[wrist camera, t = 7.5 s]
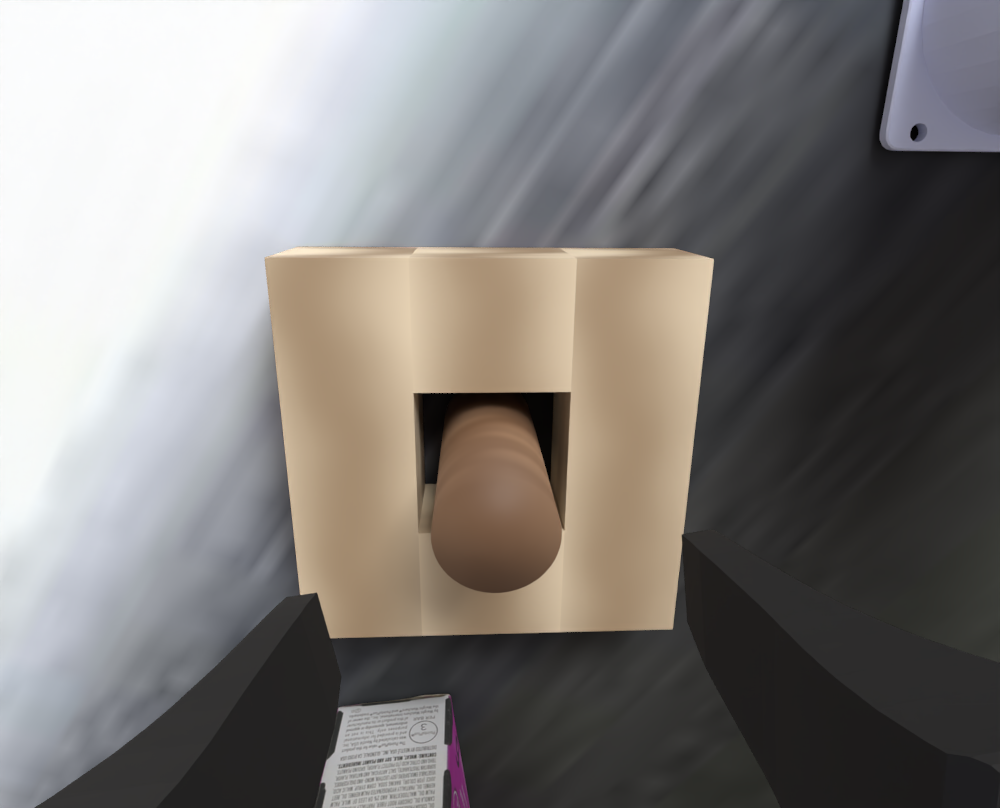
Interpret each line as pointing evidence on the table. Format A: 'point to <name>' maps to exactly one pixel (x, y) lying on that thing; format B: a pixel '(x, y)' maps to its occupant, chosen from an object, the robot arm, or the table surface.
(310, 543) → the holder block
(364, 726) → the candy bar box
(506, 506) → the peg
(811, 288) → the table surface
